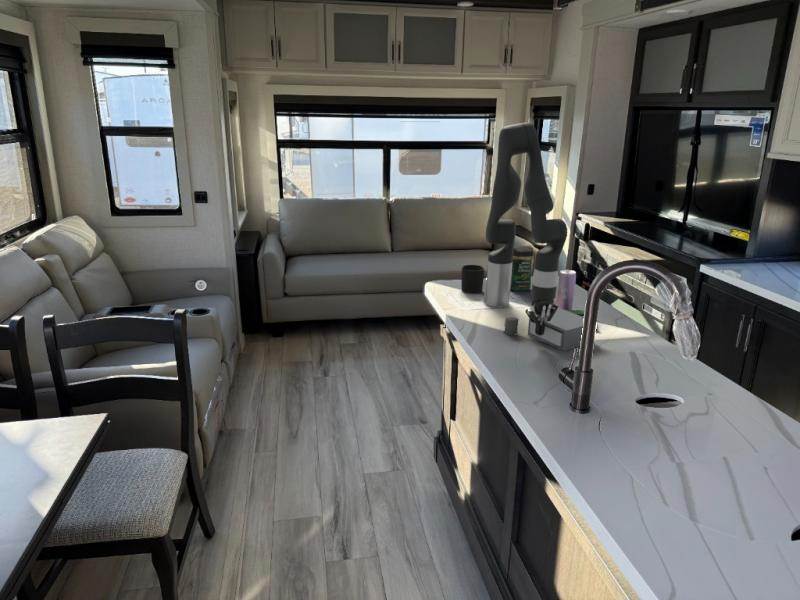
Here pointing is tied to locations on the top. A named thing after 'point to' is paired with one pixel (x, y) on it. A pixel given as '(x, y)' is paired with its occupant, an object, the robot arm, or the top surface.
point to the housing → (564, 329)
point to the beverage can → (566, 289)
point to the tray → (548, 334)
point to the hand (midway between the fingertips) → (539, 334)
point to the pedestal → (511, 325)
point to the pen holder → (472, 279)
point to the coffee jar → (521, 268)
